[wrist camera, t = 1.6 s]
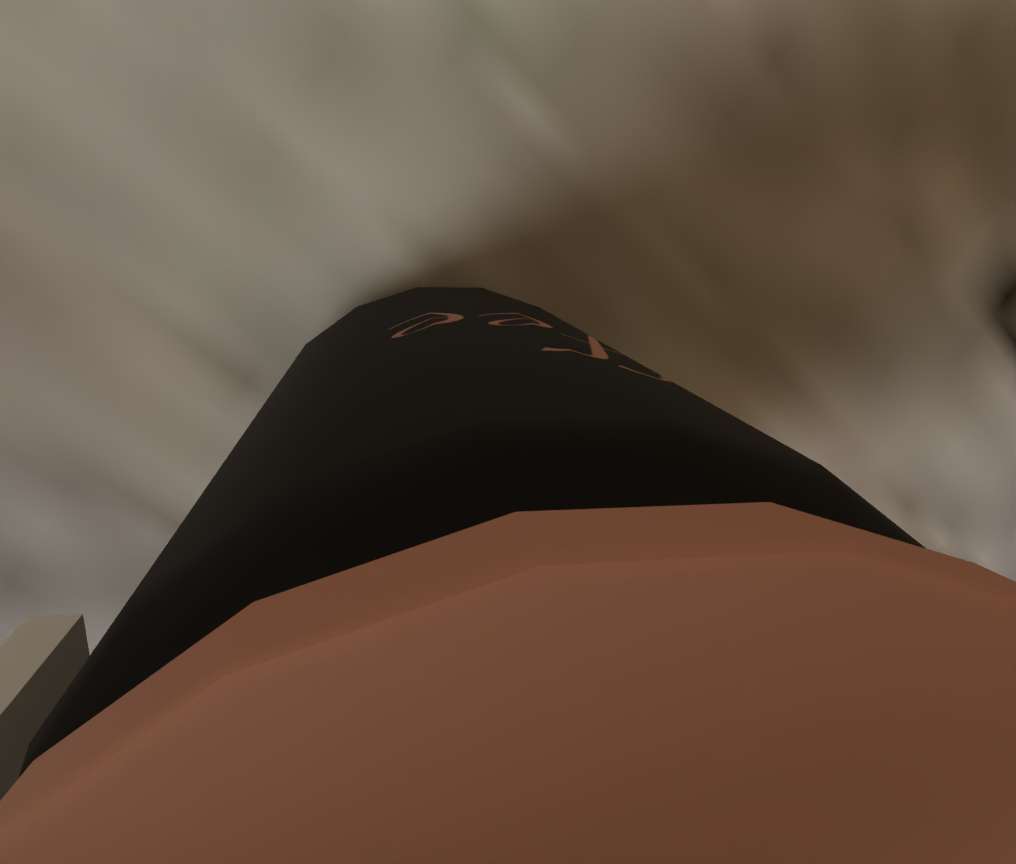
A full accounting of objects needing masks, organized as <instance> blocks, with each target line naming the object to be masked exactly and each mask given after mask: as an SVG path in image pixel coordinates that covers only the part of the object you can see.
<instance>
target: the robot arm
mask: <svg viewBox="0 0 1016 864" xmlns="http://www.w3.org/2000/svg"><path fill="white" fill-rule="evenodd" d="M89 656H90V655H89V649H88V643H87V637H86V631H85V625H84V619H83V614H74V615H58V616H42V617H28V618H27V619H26V620H25V621H24V622H23V623H22V624H21V625H20V626H19V627H18V628H17V629H16V630H15V631H14V633H13V634H12V635H11V636H10V637H9V638H8V639H7V640H6V641H5V642H4V643H3V644H2V645H1V646H0V801H1V799H2V798H3V797H4V796H5V794H6V793H7V792H8V791H9V790H10V788H11V787H12V786H13V785H14V784H15V782H16V781H17V780H18V777H19V774H20V771H21V768H22V765H23V761H24V758H25V755H26V752H27V749H28V745H29V743H30V742H31V740H32V739H33V737H34V736H35V734H36V733H37V732H38V730H39V729H40V727H41V726H42V724H43V723H44V721H45V720H46V719H47V717H48V716H49V714H50V713H51V711H52V710H53V708H54V707H55V706H56V704H57V703H58V701H59V700H60V698H61V697H62V695H63V694H64V693H65V691H66V690H67V688H68V687H69V685H70V684H71V682H72V681H73V680H74V678H75V677H76V675H77V674H78V672H79V671H80V669H81V668H82V667H83V665H84V664H85V662H86V661H87V659H88V658H89Z"/></svg>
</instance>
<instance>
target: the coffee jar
mask: <svg viewBox="0 0 1016 864" xmlns="http://www.w3.org/2000/svg"><path fill="white" fill-rule="evenodd" d="M0 864H1016V582H1015V581H1012V580H1010V579H1008V578H1006V577H1004V576H1001V575H999V574H997V573H995V572H993V571H990V570H988V569H986V568H984V567H982V566H979V565H977V564H975V563H972V562H969V561H965V560H962V559H959V558H955V557H952V556H949V555H945V554H942V553H939V552H935V551H932V550H928V549H926V548H925V547H923V546H922V545H921V544H920V543H918V542H917V541H916V540H915V539H913V538H912V537H911V536H910V535H908V534H907V533H906V532H905V531H903V530H902V529H901V528H900V527H898V526H897V525H896V524H895V523H893V522H892V521H891V520H890V519H888V518H887V517H886V516H885V515H883V514H882V513H881V512H880V511H878V510H877V509H876V508H875V507H873V506H872V505H871V504H870V503H868V502H867V501H866V500H865V499H863V498H862V497H861V496H860V495H858V494H857V493H856V492H855V491H853V490H852V489H851V488H850V487H848V486H847V485H846V484H845V483H843V482H842V481H841V480H840V479H838V478H837V477H836V476H835V475H833V474H832V473H831V472H830V471H828V470H827V469H826V468H825V467H823V466H822V465H820V464H818V463H816V462H814V461H813V460H811V459H809V458H807V457H805V456H804V455H802V454H800V453H798V452H797V451H795V450H793V449H791V448H789V447H788V446H786V445H784V444H782V443H780V442H779V441H777V440H775V439H773V438H772V437H770V436H768V435H766V434H764V433H763V432H761V431H759V430H757V429H755V428H754V427H752V426H750V425H748V424H746V423H745V422H743V421H741V420H739V419H738V418H736V417H734V416H732V415H730V414H729V413H727V412H725V411H723V410H721V409H720V408H718V407H716V406H714V405H713V404H711V403H709V402H707V401H705V400H704V399H702V398H700V397H698V396H696V395H695V394H693V393H691V392H689V391H687V390H686V389H684V388H682V387H680V386H679V385H677V384H675V383H673V382H671V381H670V380H668V379H666V378H664V377H662V376H661V375H659V374H657V373H655V372H653V371H652V370H650V369H648V368H646V367H645V366H643V365H641V364H639V363H637V362H636V361H634V360H632V359H630V358H628V357H627V356H625V355H623V354H621V353H620V352H618V351H616V350H614V349H612V348H611V347H609V346H607V345H605V344H603V343H602V342H600V341H598V340H596V339H594V338H593V337H591V336H589V335H587V334H586V333H584V332H582V331H580V330H578V329H577V328H575V327H573V326H571V325H569V324H568V323H566V322H564V321H562V320H560V319H559V318H557V317H555V316H553V315H552V314H550V313H548V312H546V311H544V310H543V309H541V308H539V307H536V306H533V305H530V304H527V303H524V302H521V301H518V300H515V299H512V298H510V297H507V296H504V295H501V294H498V293H495V292H492V291H489V290H486V289H483V288H434V287H417V288H414V289H411V290H408V291H405V292H402V293H399V294H396V295H393V296H390V297H386V298H383V299H380V300H377V301H374V302H371V303H368V304H365V305H362V306H358V307H356V308H355V309H353V310H352V311H351V312H349V313H348V314H347V315H345V316H344V317H343V318H341V319H340V320H338V321H337V322H336V323H334V324H333V325H332V326H330V327H329V328H328V329H326V330H325V331H323V332H322V333H321V334H319V335H318V336H317V337H315V338H314V339H313V340H311V341H310V342H309V343H307V344H306V345H305V346H304V348H303V349H302V350H301V352H300V353H299V355H298V356H297V358H296V359H295V361H294V362H293V363H292V365H291V366H290V368H289V369H288V371H287V372H286V373H285V375H284V376H283V378H282V379H281V381H280V382H279V384H278V385H277V386H276V388H275V389H274V391H273V392H272V394H271V395H270V396H269V398H268V399H267V401H266V402H265V404H264V405H263V407H262V408H261V409H260V411H259V412H258V414H257V415H256V417H255V418H254V420H253V421H252V422H251V424H250V425H249V427H248V428H247V430H246V431H245V433H244V434H243V435H242V437H241V438H240V440H239V441H238V443H237V444H236V446H235V447H234V448H233V450H232V451H231V453H230V454H229V456H228V457H227V459H226V460H225V461H224V463H223V464H222V466H221V467H220V469H219V470H218V472H217V473H216V474H215V476H214V477H213V479H212V480H211V482H210V483H209V485H208V486H207V487H206V489H205V490H204V492H203V493H202V495H201V496H200V498H199V499H198V500H197V502H196V503H195V505H194V506H193V508H192V509H191V511H190V512H189V513H188V515H187V516H186V518H185V519H184V521H183V522H182V524H181V525H180V526H179V528H178V529H177V531H176V532H175V534H174V535H173V537H172V538H171V539H170V541H169V542H168V544H167V545H166V547H165V548H164V550H163V551H162V552H161V554H160V555H159V557H158V558H157V560H156V561H155V563H154V564H153V565H152V567H151V568H150V570H149V571H148V573H147V574H146V576H145V577H144V578H143V580H142V581H141V583H140V584H139V586H138V587H137V589H136V590H135V591H134V593H133V594H132V596H131V597H130V599H129V600H128V602H127V603H126V604H125V606H124V607H123V609H122V610H121V612H120V613H119V615H118V616H117V617H116V619H115V620H114V622H113V623H112V625H111V626H110V628H109V629H108V630H107V632H106V633H105V635H104V636H103V638H102V639H101V641H100V642H99V643H98V645H97V646H96V648H95V649H94V651H93V652H92V654H91V655H90V656H89V658H88V659H87V661H86V662H85V664H84V665H83V667H82V668H81V669H80V671H79V672H78V674H77V675H76V677H75V678H74V680H73V681H72V682H71V684H70V685H69V687H68V688H67V690H66V691H65V693H64V694H63V695H62V697H61V698H60V700H59V701H58V703H57V704H56V706H55V707H54V708H53V710H52V711H51V713H50V714H49V716H48V717H47V719H46V720H45V721H44V723H43V724H42V726H41V727H40V729H39V730H38V732H37V733H36V734H35V736H34V737H33V739H32V740H31V742H30V743H29V745H28V749H27V752H26V755H25V758H24V761H23V765H22V768H21V771H20V774H19V777H18V780H17V781H16V782H15V784H14V785H13V786H12V787H11V788H10V790H9V791H8V792H7V793H6V794H5V796H4V797H3V798H2V799H1V801H0Z"/></svg>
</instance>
